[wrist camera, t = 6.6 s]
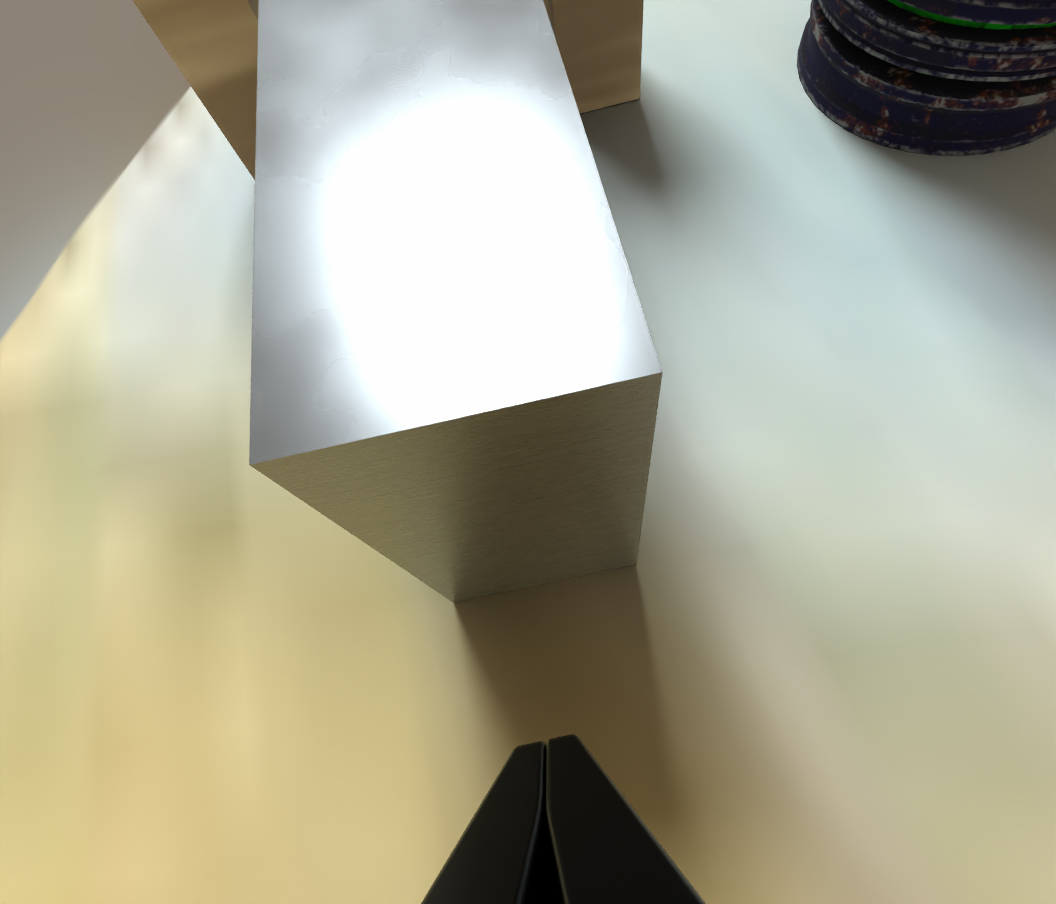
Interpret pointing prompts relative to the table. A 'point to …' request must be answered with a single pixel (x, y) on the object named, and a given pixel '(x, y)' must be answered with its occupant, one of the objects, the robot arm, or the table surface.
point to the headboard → (232, 51)
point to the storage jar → (934, 71)
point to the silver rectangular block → (443, 295)
